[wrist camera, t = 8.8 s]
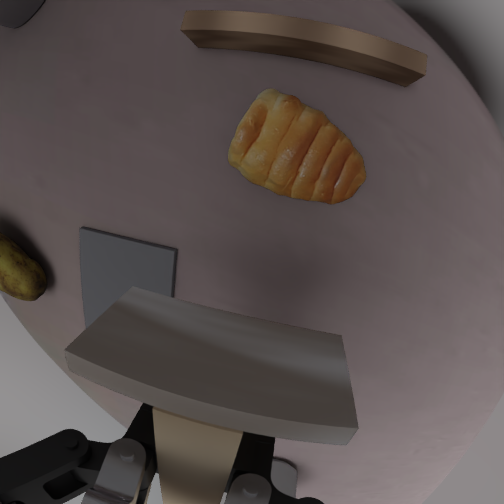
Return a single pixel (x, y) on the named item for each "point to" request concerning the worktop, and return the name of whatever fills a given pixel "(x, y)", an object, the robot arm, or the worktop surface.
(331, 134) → the pastry
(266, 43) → the rail
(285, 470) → the can
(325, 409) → the scraper
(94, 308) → the mat
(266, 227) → the worktop surface
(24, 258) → the potato
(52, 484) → the robot arm
